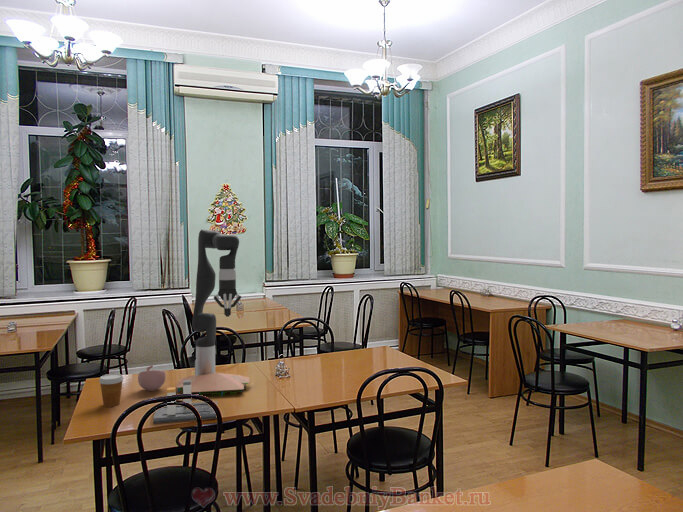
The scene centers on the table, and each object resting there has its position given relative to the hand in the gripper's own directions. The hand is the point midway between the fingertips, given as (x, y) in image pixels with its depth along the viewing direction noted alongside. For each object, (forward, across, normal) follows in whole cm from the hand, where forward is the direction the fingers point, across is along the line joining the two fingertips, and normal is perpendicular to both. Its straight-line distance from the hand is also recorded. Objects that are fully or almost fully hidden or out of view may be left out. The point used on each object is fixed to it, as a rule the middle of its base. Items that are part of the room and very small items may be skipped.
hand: (227, 316), depth 233 cm
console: (+35, -17, -26) cm, 47 cm away
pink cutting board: (+36, -6, +5) cm, 37 cm away
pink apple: (+35, -34, +11) cm, 50 cm away
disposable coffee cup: (+35, -48, -6) cm, 60 cm away
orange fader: (+34, -22, -31) cm, 51 cm away
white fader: (+34, -17, -21) cm, 43 cm away
